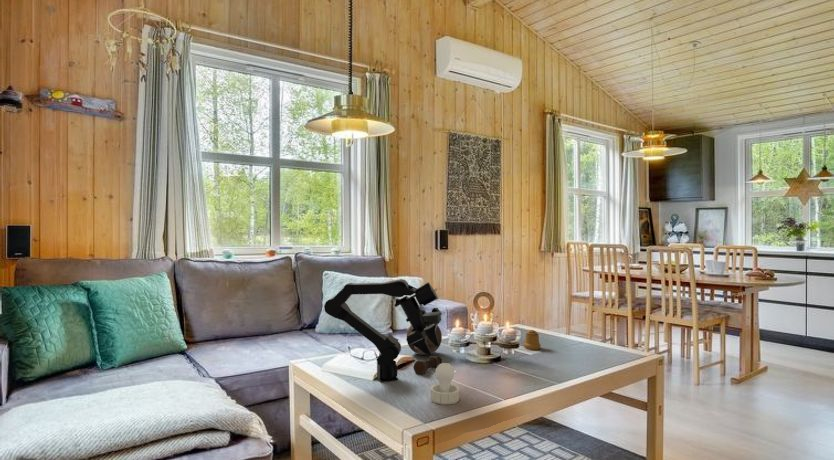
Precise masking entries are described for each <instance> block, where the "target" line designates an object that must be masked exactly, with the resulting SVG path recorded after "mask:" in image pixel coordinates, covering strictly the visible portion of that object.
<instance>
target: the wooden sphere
mask: <svg viewBox="0 0 834 460" xmlns="http://www.w3.org/2000/svg"><path fill="white" fill-rule="evenodd" d="M438 325H439V324H438ZM438 325H437V328H436V334H437V338H438V342H439V346H435V345H434V344H433V343H432V341H431V340H430V339H429V338H428V337H427V339H426V342H427V344H428V347H429V349H430V352H431V355H432V354H434V353H435V352H437V350H438V349H439V348H440V346H441V344H442V341H443V337H442V336H443V334H442V331H441V329H440V327H439V326H438ZM412 329H413V327H412V326H411V325H410V326H409V327H408V329H407V331H406V337H407V336H408V335H409V334H410V333H412ZM425 336H426V335H425ZM406 343H407V345H408V347H409V348H410V350H411V351H412V352H414V353H415V354H417V355H420V356H428V355H427V354H425V353H424V352H423V351H421V350H420V349H418V348H417V347H415V346H414V345H411V344H408V342H407V341H406Z"/></svg>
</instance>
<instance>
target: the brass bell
mask: <svg viewBox="0 0 834 460" xmlns="http://www.w3.org/2000/svg"><path fill="white" fill-rule="evenodd" d="M524 339H525V340H524V341H525V342H524V343H523V347H524V349H525V348H526V350H528V349H531V350H530V351H539V350H540V349H541V344H540V335H539V333H538V332H537V331H536V330H534V329H531V330H529V331H527V332H526V333H525V338H524ZM538 349H539V350H538Z"/></svg>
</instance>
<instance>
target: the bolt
mask: <svg viewBox="0 0 834 460" xmlns="http://www.w3.org/2000/svg"><path fill="white" fill-rule="evenodd" d="M442 363H443V358H442V357H441V356H438V355H437V356H434V355H430V356H429V357H428V359H427V360H421V359H417V360H415V362H414V364H413V365H412V366H413V371H414V373H415V374H416V375H420V376H424V375H426V373H427V371H428V370H429V369H436V368H437V366H438V365H440V364H442Z"/></svg>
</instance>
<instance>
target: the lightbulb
mask: <svg viewBox="0 0 834 460" xmlns="http://www.w3.org/2000/svg"><path fill="white" fill-rule="evenodd" d="M455 374H456V373H455V368H454V367H453V365H452V364H450V363H448V362H442V363H441V364H439V365H438V366H437V368H435V376H436V380H437V381H438V384H440V389H441V393H449V389H450V384H452V381H453V380H454V377H455Z"/></svg>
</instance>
